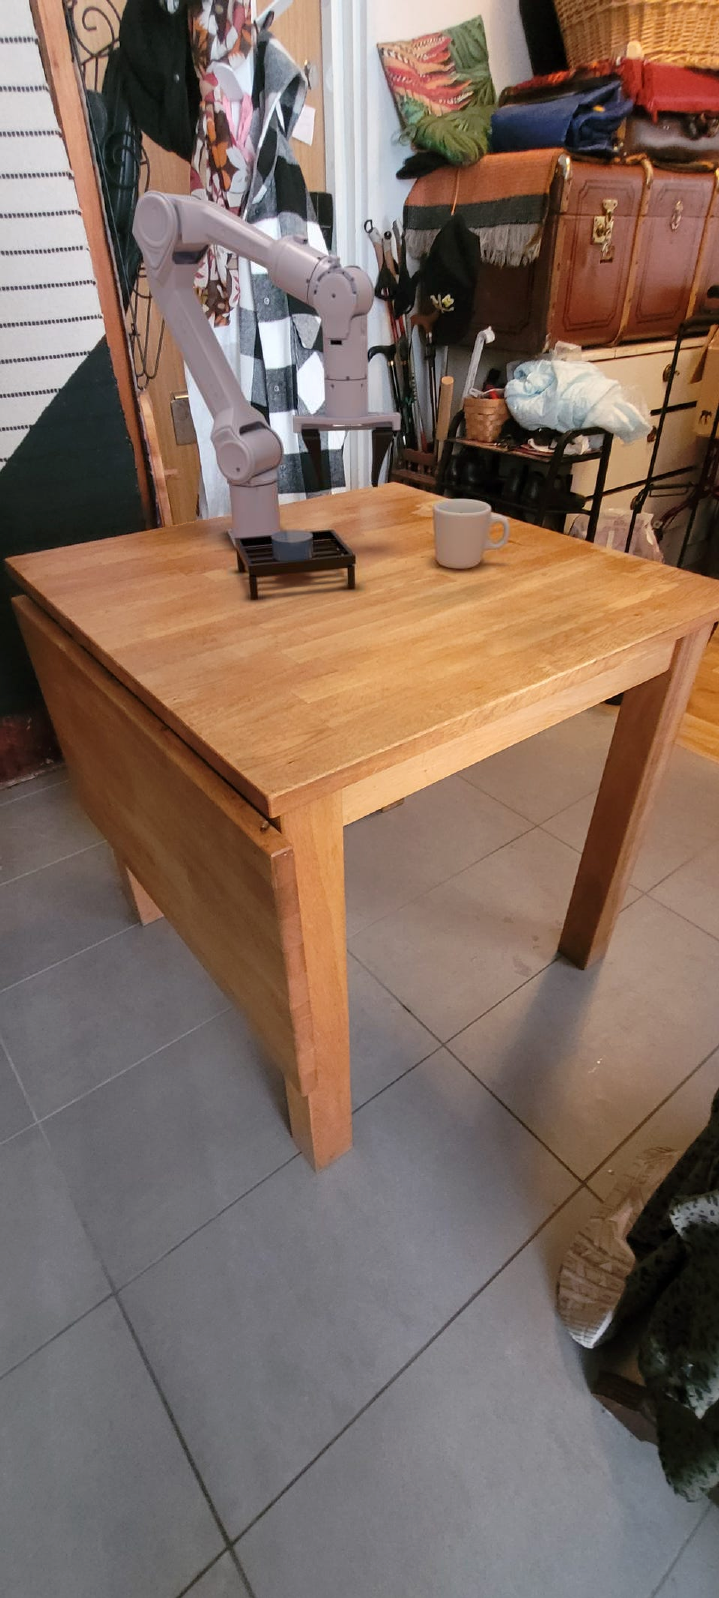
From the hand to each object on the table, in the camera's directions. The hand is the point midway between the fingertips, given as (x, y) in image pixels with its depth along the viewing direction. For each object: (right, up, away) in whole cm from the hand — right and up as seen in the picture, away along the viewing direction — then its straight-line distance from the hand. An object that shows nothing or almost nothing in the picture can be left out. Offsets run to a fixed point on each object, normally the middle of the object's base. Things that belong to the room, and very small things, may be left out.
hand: (347, 486), depth 109 cm
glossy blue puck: (-7, -12, -6) cm, 15 cm away
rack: (-7, -14, -4) cm, 16 cm away
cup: (+17, -11, +1) cm, 20 cm away
